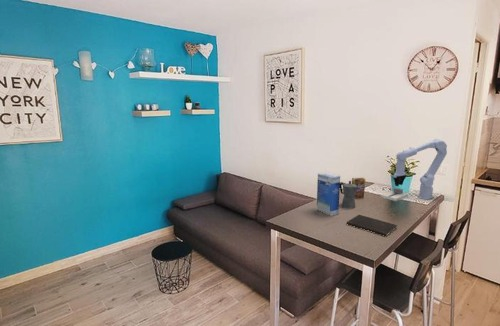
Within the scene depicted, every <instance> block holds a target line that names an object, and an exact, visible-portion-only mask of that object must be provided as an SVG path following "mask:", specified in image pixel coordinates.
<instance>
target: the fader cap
mask: <svg viewBox="0 0 500 326" xmlns="http://www.w3.org/2000/svg"><path fill="white" fill-rule="evenodd" d="M392 191H393V193H397V194H402V193H404V189H403V188H399V187H395V188H393V190H392Z"/></svg>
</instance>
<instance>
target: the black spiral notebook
mask: <svg viewBox="0 0 500 326" xmlns="http://www.w3.org/2000/svg"><path fill="white" fill-rule="evenodd" d="M347 224H348V225H347ZM346 225H347V226H349V225H352V226H355V227H354V228H356V227H358V228H357V229H359V228H362V229H365V230H369V231H372V232H375V233H378V234H381V235H384V236H386V237H387V236H388V235H387V234H388V233H390V232H391V231H392V230H394V229H395V228H396V227H398V226H399V225H398V224H394V223H390V222H388V221H387V222H386V221H383V220H380V219H377V218H374V217H373V218H372V217H370V216H366V215H361V214H358V215H355V216H354V217H353V218H351V219H349V220H348V221H346ZM352 226H351V227H352ZM362 229H361V230H362ZM396 229H397V228H396ZM396 229H395V230H396ZM365 230H364V231H365ZM395 230H394V231H395ZM372 232H371V233H372ZM392 232H393V231H392ZM392 232H391V233H392ZM375 233H374V234H375ZM391 233H390V234H391ZM378 234H377V235H378ZM381 235H380V236H381ZM384 236H383V237H384Z"/></svg>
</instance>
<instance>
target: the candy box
mask: <svg viewBox="0 0 500 326" xmlns="http://www.w3.org/2000/svg"><path fill="white" fill-rule="evenodd" d="M351 184H355V185H357V187H358V189H357V190H356V192H355V195H354V198H355V199H364V197H365V188H366V178H365V177H352V178H351Z"/></svg>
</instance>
